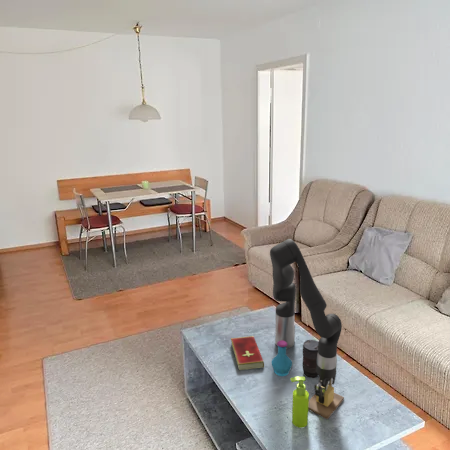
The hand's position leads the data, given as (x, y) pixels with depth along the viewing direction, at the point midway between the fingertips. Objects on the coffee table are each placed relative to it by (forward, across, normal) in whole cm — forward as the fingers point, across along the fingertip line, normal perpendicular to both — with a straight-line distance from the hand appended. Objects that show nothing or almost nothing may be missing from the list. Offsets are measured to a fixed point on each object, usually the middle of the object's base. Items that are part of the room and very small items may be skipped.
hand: (324, 398), depth 163 cm
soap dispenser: (+3, +15, -3) cm, 15 cm away
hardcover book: (+3, -5, -44) cm, 44 cm away
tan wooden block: (+1, 0, 0) cm, 1 cm away
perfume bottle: (+3, -6, -24) cm, 25 cm away
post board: (+2, 0, 0) cm, 2 cm away
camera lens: (+3, -13, -14) cm, 19 cm away
